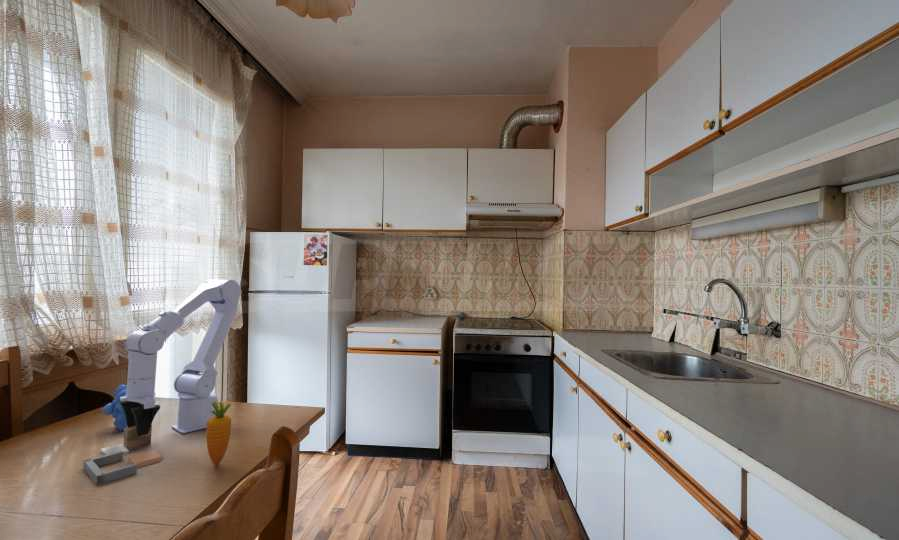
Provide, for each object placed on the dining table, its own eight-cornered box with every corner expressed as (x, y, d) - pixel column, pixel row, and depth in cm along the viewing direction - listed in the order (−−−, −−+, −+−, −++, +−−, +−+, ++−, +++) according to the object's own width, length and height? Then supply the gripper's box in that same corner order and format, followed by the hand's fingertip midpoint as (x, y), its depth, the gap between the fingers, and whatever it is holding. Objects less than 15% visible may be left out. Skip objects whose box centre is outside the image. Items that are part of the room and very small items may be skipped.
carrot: (233, 463, 91) (237, 399, 92) (214, 472, 87) (218, 405, 87) (218, 459, 93) (221, 396, 93) (198, 468, 88) (202, 402, 89)
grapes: (98, 425, 111) (101, 383, 111) (128, 420, 116) (131, 380, 116) (102, 438, 103) (105, 392, 103) (134, 431, 108) (137, 388, 108)
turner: (145, 440, 102) (146, 421, 103) (153, 446, 99) (154, 426, 99) (100, 451, 95) (101, 430, 95) (107, 458, 92) (108, 437, 92)
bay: (121, 458, 92) (121, 450, 92) (136, 473, 85) (136, 464, 85) (83, 468, 86) (83, 460, 86) (96, 485, 80) (97, 476, 80)
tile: (153, 456, 94) (154, 450, 94) (161, 462, 91) (161, 456, 91) (127, 463, 90) (128, 457, 90) (134, 470, 87) (135, 463, 87)
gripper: (113, 375, 100) (109, 428, 100) (131, 385, 92) (126, 443, 91) (146, 371, 106) (142, 421, 105) (166, 380, 97) (162, 434, 97)
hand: (137, 430), depth 99 cm, fingers open, 7 cm apart
